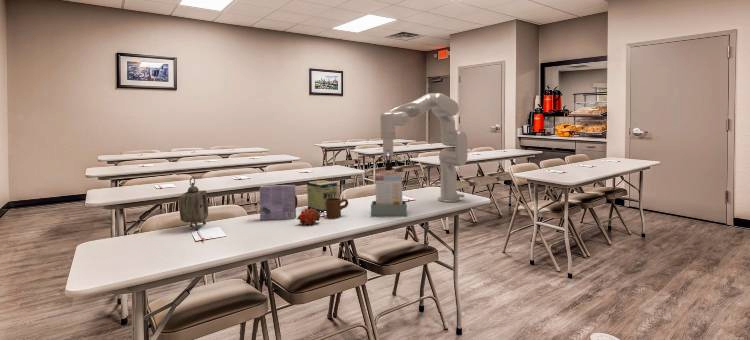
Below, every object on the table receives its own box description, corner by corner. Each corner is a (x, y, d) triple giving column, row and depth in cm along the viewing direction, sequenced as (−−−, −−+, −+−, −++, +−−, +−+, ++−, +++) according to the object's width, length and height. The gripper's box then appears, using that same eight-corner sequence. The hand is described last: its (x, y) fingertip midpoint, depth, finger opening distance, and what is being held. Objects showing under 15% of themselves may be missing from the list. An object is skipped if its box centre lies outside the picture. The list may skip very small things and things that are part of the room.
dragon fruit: (323, 225, 217) (299, 232, 213) (318, 213, 222) (295, 219, 218) (323, 215, 211) (299, 221, 207) (317, 202, 216) (294, 208, 212)
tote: (406, 211, 237) (406, 200, 236) (406, 216, 226) (406, 205, 225) (372, 211, 238) (372, 200, 237) (371, 216, 227) (370, 205, 226)
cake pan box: (298, 216, 231) (296, 183, 228) (298, 218, 226) (296, 185, 223) (261, 218, 227) (259, 185, 225) (260, 221, 223) (258, 187, 220)
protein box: (323, 213, 237) (322, 185, 235) (307, 208, 249) (306, 181, 246) (338, 210, 244) (337, 182, 242) (322, 205, 255) (321, 179, 253)
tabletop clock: (200, 231, 205) (196, 179, 202) (180, 232, 205) (176, 179, 201) (209, 223, 220) (205, 174, 216) (190, 224, 219) (186, 175, 215)
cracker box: (402, 210, 234) (402, 172, 231) (402, 213, 228) (402, 174, 225) (376, 210, 235) (376, 172, 232) (375, 213, 229) (375, 174, 227)
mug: (346, 213, 234) (346, 196, 233) (350, 217, 227) (350, 199, 226) (324, 216, 230) (324, 198, 229) (328, 219, 223) (327, 201, 222)
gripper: (381, 135, 235) (382, 166, 238) (380, 137, 218) (381, 171, 221) (395, 134, 235) (396, 166, 237) (395, 137, 217) (395, 171, 220)
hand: (389, 168), depth 229 cm, fingers open, 9 cm apart
